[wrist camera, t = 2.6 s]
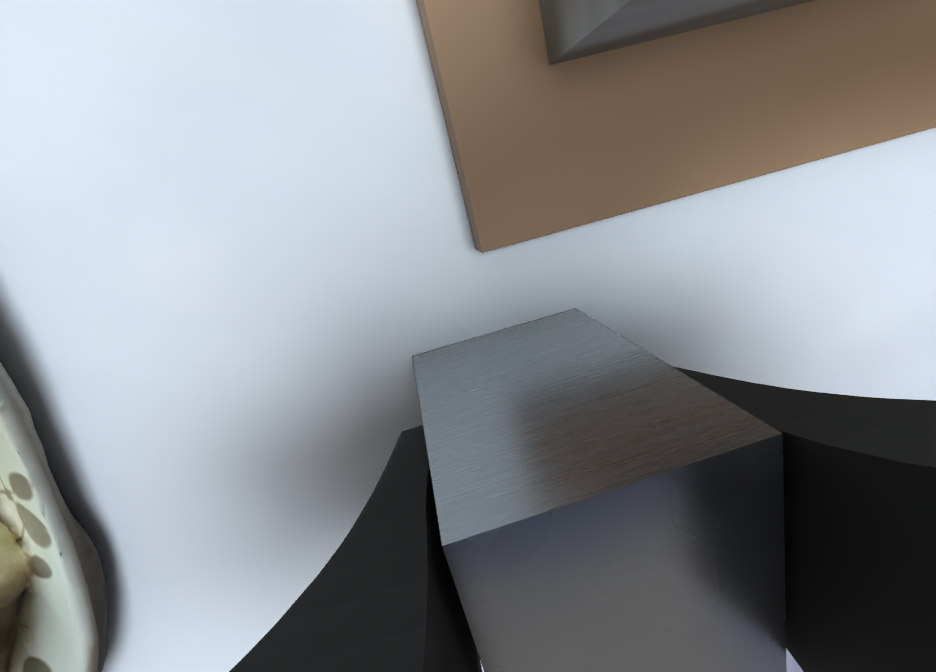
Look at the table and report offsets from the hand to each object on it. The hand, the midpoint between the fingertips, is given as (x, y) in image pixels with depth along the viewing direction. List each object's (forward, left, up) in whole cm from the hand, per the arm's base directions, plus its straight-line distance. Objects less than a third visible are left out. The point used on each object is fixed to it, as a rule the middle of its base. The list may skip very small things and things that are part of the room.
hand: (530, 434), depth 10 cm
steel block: (0, 0, -1) cm, 1 cm away
